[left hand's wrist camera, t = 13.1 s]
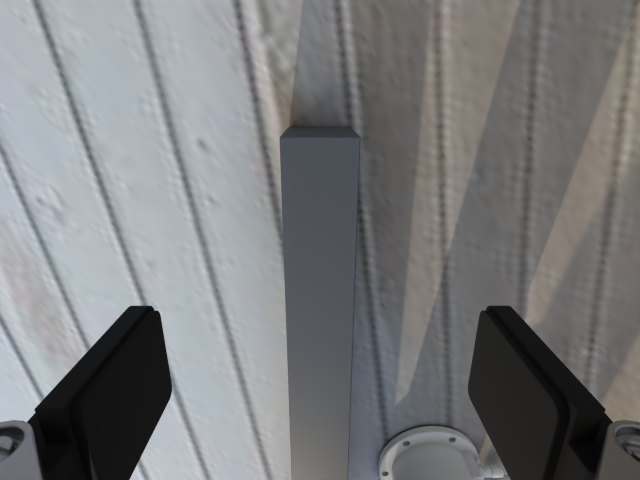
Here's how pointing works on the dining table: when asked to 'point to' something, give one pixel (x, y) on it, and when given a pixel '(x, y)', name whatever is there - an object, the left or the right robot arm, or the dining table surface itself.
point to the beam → (319, 293)
